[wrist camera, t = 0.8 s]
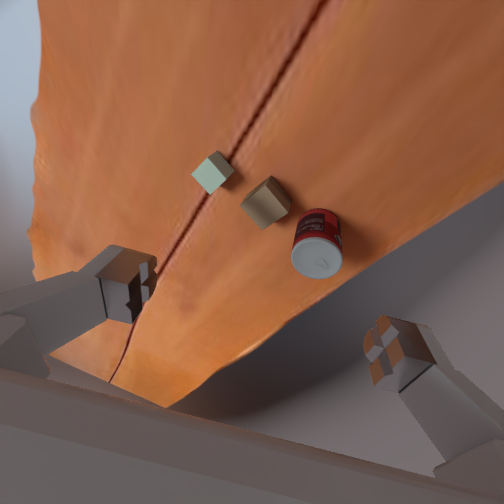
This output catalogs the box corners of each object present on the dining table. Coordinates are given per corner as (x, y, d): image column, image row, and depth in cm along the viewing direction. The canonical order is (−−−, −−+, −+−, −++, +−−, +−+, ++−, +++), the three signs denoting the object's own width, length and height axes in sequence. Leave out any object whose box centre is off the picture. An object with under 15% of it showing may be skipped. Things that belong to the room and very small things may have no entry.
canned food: (326, 248, 49) (326, 286, 40) (290, 232, 49) (282, 266, 40) (349, 218, 44) (354, 254, 36) (309, 200, 44) (304, 231, 35)
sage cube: (217, 150, 43) (207, 157, 39) (234, 170, 44) (226, 179, 41) (202, 166, 45) (191, 174, 42) (218, 185, 47) (209, 194, 43)
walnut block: (271, 175, 43) (265, 185, 39) (291, 200, 45) (288, 212, 41) (247, 194, 46) (239, 205, 43) (267, 217, 48) (262, 230, 44)
